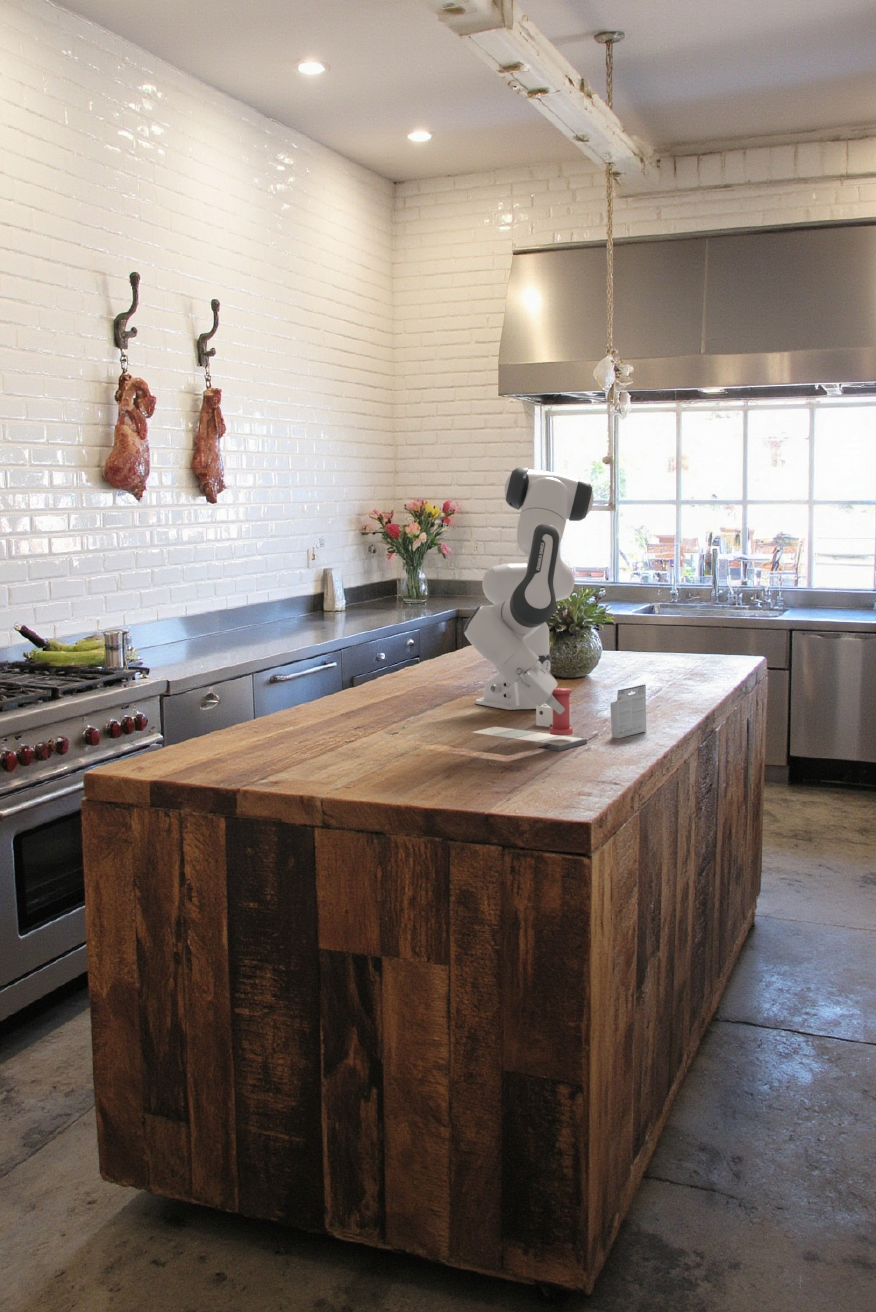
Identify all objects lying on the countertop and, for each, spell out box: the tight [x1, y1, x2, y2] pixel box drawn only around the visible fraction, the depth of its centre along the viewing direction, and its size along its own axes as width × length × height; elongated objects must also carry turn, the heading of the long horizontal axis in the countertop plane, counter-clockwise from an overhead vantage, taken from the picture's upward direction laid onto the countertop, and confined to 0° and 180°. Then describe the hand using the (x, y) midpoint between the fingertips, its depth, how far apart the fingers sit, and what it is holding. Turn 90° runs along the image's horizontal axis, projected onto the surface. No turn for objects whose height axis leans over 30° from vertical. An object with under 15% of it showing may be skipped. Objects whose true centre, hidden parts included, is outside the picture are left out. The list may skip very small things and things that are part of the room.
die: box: [535, 704, 572, 728], centre depth 281 cm, size 6×6×6 cm
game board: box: [471, 726, 588, 752], centre depth 268 cm, size 26×11×1 cm, turn 49°
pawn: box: [549, 687, 574, 736], centre depth 261 cm, size 5×5×10 cm
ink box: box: [610, 684, 647, 740], centre depth 272 cm, size 12×2×12 cm, turn 135°
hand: (564, 709), depth 261 cm, fingers closed on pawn, 4 cm apart
